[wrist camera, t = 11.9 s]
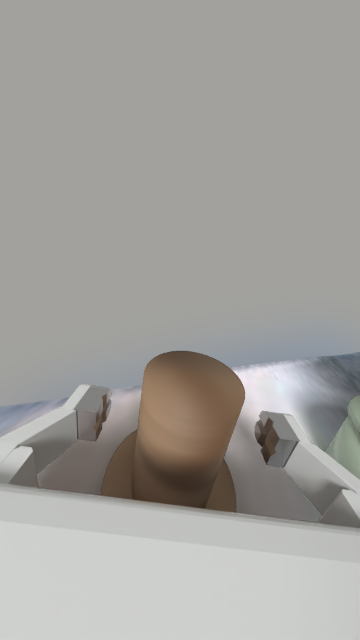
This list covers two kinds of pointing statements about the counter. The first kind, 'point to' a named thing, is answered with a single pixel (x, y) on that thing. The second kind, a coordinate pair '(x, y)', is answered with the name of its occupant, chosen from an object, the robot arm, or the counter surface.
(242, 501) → the counter surface
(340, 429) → the canister
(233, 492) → the lid
